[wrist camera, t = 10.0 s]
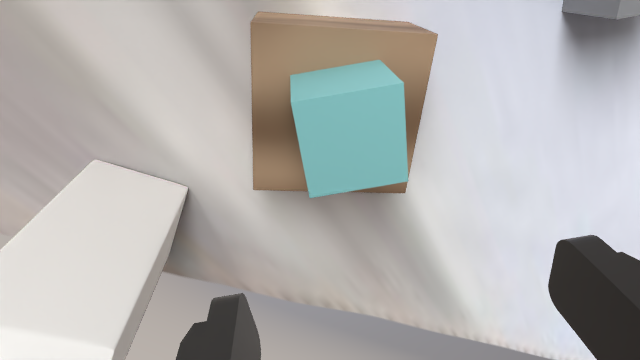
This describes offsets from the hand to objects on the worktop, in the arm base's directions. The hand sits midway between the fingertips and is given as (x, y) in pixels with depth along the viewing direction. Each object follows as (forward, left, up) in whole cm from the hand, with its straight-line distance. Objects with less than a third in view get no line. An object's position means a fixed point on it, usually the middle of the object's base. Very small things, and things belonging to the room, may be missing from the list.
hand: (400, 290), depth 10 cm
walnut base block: (0, 0, -20) cm, 20 cm away
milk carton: (+7, -17, -20) cm, 27 cm away
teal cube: (0, 0, -14) cm, 14 cm away
